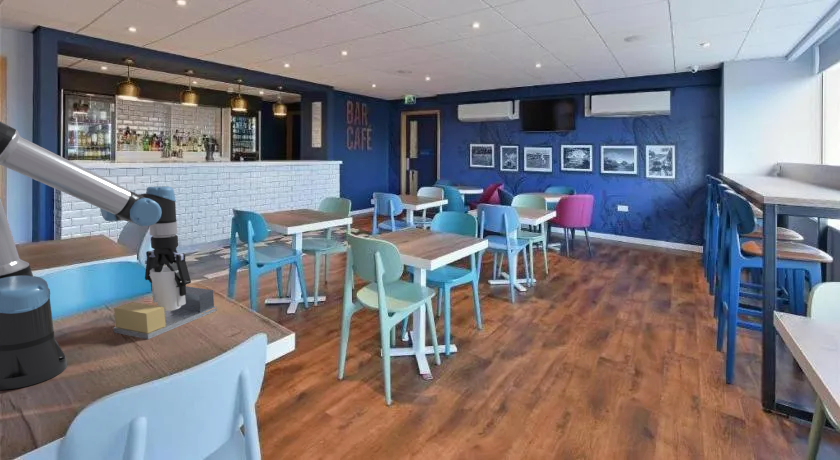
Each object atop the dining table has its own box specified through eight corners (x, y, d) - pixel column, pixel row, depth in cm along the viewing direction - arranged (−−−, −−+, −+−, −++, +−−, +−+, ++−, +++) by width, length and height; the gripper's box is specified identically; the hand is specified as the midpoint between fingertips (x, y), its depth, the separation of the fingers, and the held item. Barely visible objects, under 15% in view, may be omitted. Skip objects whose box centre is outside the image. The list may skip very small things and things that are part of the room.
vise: (148, 339, 129) (146, 314, 128) (113, 332, 134) (111, 308, 133) (216, 310, 154) (215, 289, 153) (185, 305, 159) (183, 285, 158)
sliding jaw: (147, 333, 130) (146, 313, 129) (115, 326, 134) (113, 308, 133) (165, 326, 135) (164, 307, 134) (134, 320, 140) (132, 302, 139)
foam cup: (191, 303, 149) (189, 265, 147) (176, 313, 140) (173, 273, 137) (163, 302, 149) (160, 265, 147) (146, 312, 140) (143, 272, 138)
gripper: (200, 236, 140) (205, 303, 144) (148, 231, 147) (154, 295, 151) (181, 240, 133) (186, 311, 137) (127, 234, 140) (133, 302, 144)
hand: (169, 303), depth 144 cm, fingers closed on foam cup, 9 cm apart
